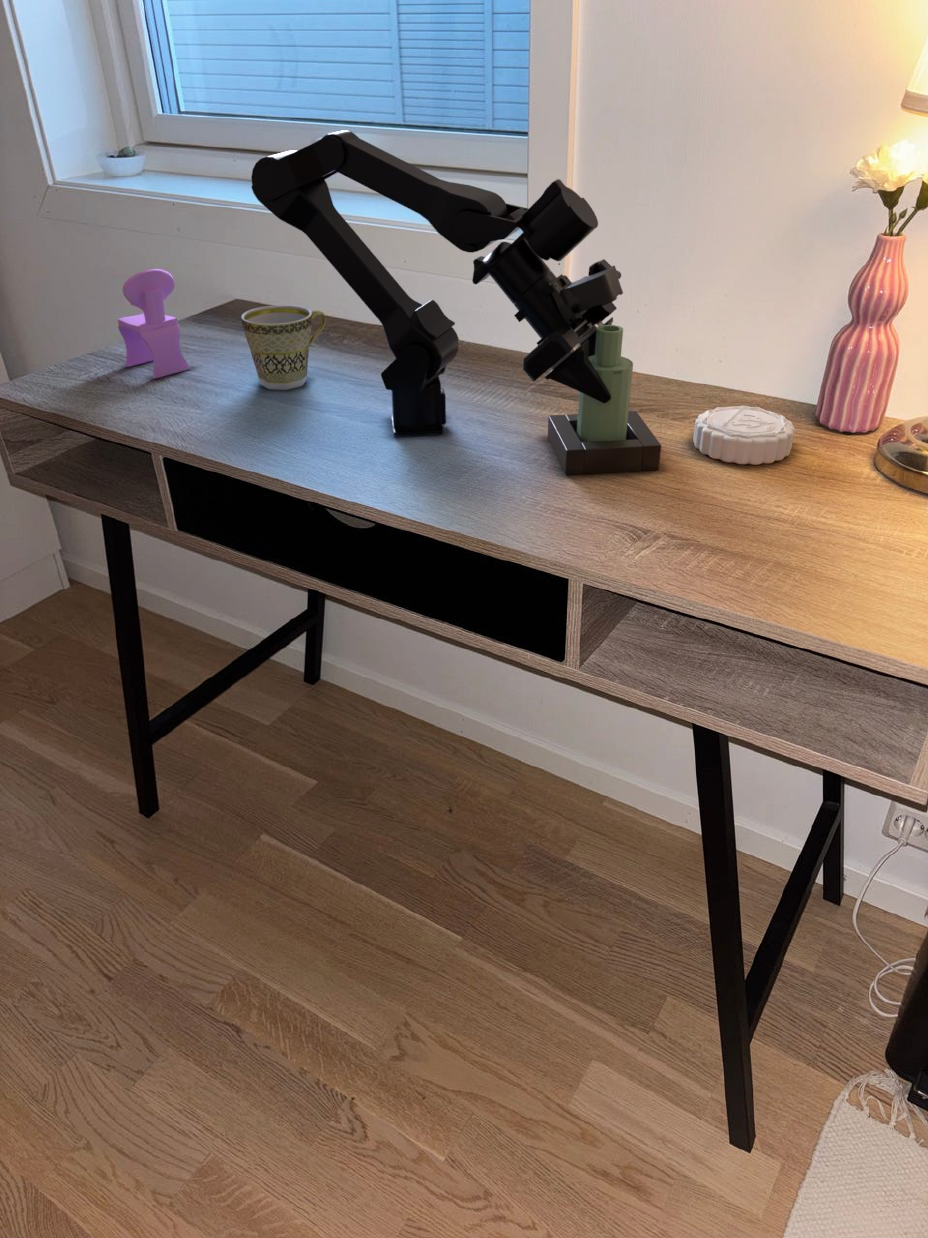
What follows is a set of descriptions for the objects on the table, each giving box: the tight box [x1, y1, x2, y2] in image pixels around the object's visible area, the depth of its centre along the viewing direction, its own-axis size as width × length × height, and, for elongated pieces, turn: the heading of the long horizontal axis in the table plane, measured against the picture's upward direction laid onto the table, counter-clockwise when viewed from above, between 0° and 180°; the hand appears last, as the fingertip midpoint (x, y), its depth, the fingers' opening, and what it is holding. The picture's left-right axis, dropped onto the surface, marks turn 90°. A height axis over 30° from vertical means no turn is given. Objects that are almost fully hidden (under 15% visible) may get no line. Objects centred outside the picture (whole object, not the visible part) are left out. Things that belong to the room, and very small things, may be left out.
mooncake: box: [692, 405, 796, 466], centre depth 122 cm, size 12×12×4 cm
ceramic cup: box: [240, 304, 327, 391], centre depth 142 cm, size 13×10×10 cm
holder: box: [547, 410, 662, 476], centre depth 120 cm, size 11×11×3 cm
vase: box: [577, 324, 634, 442], centre depth 116 cm, size 6×6×14 cm
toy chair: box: [116, 268, 191, 379], centre depth 147 cm, size 8×9×15 cm
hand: (615, 392), depth 116 cm, fingers closed on vase, 6 cm apart
